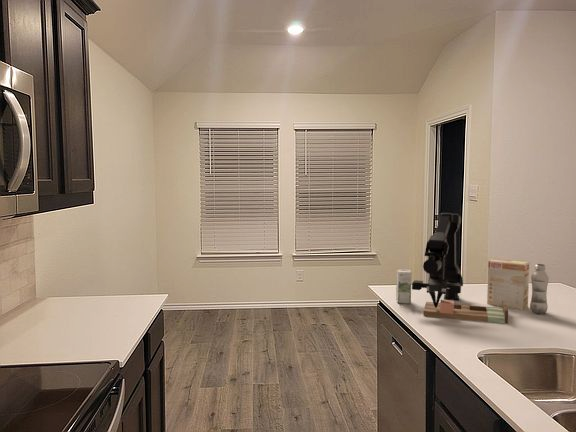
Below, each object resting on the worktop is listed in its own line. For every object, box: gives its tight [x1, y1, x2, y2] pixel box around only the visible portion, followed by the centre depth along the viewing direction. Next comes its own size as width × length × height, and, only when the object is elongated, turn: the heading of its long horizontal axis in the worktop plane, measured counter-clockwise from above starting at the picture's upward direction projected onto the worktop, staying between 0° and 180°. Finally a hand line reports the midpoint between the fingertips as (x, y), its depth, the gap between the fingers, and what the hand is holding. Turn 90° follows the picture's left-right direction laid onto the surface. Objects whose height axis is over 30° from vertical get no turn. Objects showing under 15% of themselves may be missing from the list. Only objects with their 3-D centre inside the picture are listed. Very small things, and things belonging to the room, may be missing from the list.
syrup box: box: [395, 269, 412, 305], centre depth 210 cm, size 6×6×14 cm
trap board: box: [422, 301, 509, 324], centre depth 191 cm, size 14×31×5 cm, turn 70°
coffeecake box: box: [486, 258, 530, 311], centre depth 203 cm, size 15×7×20 cm, turn 47°
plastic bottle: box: [529, 263, 550, 314], centre depth 192 cm, size 6×7×20 cm
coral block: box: [439, 299, 455, 314], centre depth 189 cm, size 5×5×4 cm
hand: (435, 307), depth 191 cm, fingers closed
